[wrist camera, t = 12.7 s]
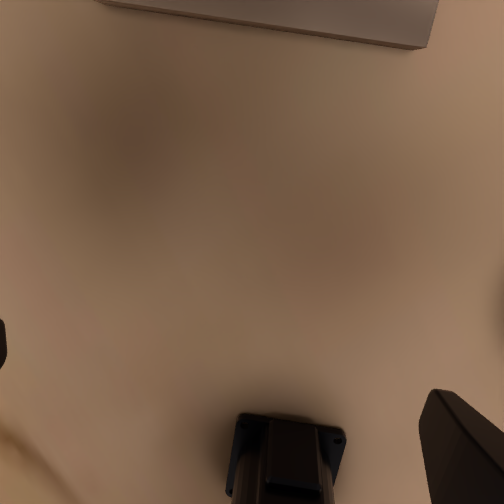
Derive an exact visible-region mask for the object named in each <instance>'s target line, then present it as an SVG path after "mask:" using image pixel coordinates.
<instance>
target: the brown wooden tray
mask: <svg viewBox="0 0 504 504" xmlns="http://www.w3.org/2000/svg"><path fill="white" fill-rule="evenodd" d="M94 1H97V2H100V3H102V4H105V5H111V6H118V7H125V8H132V9H138V10H145V11H152V12H158V13H165V14H172V15H179V16H185V17H192V18H199V19H205V20H212V21H219V22H226V23H232V24H239V25H246V26H253V27H259V28H266V29H273V30H279V31H286V32H293V33H300V34H306V35H313V36H320V37H327V38H333V39H340V40H347V41H353V42H360V43H367V44H374V45H380V46H387V47H394V48H401V49H407V50H417V49H422V48H427V44H428V40H429V36H430V33H431V29H432V25H433V21H434V18H435V14H436V10H437V6H438V2H439V0H94Z"/></svg>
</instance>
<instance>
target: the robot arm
mask: <svg viewBox="0 0 504 504" xmlns="http://www.w3.org/2000/svg"><path fill="white" fill-rule="evenodd" d="M6 357H7V343H6V332H5V324H4V322H3V320H1V319H0V369H1V367H2V366H3V364H4V362H5V360H6ZM243 422H246V423H248V424H243ZM419 434H420V440H421V446H422V452H423V458H424V464H425V470H426V476H427V481H428V487H429V493H430V498H431V503H432V504H504V432H502V431H501V430H500V429H499V428H497V427H496V426H495V425H494V424H492V423H491V422H490V421H489V420H487V419H486V418H485V417H484V416H483V415H481V414H480V413H479V412H478V411H476V410H475V409H474V408H473V407H471V406H470V405H469V404H468V403H467V402H465V401H464V400H463V399H462V398H460V397H459V396H458V395H457V394H455V393H454V392H452V391H447V390H441V389H433V390H431V391H430V393H429V395H428V397H427V400H426V403H425V405H424V408H423V411H422V414H421V416H420V419H419ZM335 438H339V439H335ZM345 445H346V435H345V433H344V432H343V431H342V430H339V429H334V428H328V427H322V426H316V425H309V424H303V423H297V422H291V421H285V420H279V419H273V418H267V417H261V416H255V415H249V414H242V415H240V416H238V418H237V422H236V428H235V434H234V440H233V446H232V453H231V459H230V465H229V471H228V477H227V483H226V490H225V492H226V494H227V495H228V496H229V497H232V502H231V504H335V502H334V493H333V486H334V483H335V479H336V476H337V472H338V469H339V466H340V462H341V459H342V455H343V452H344V449H345Z"/></svg>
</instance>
